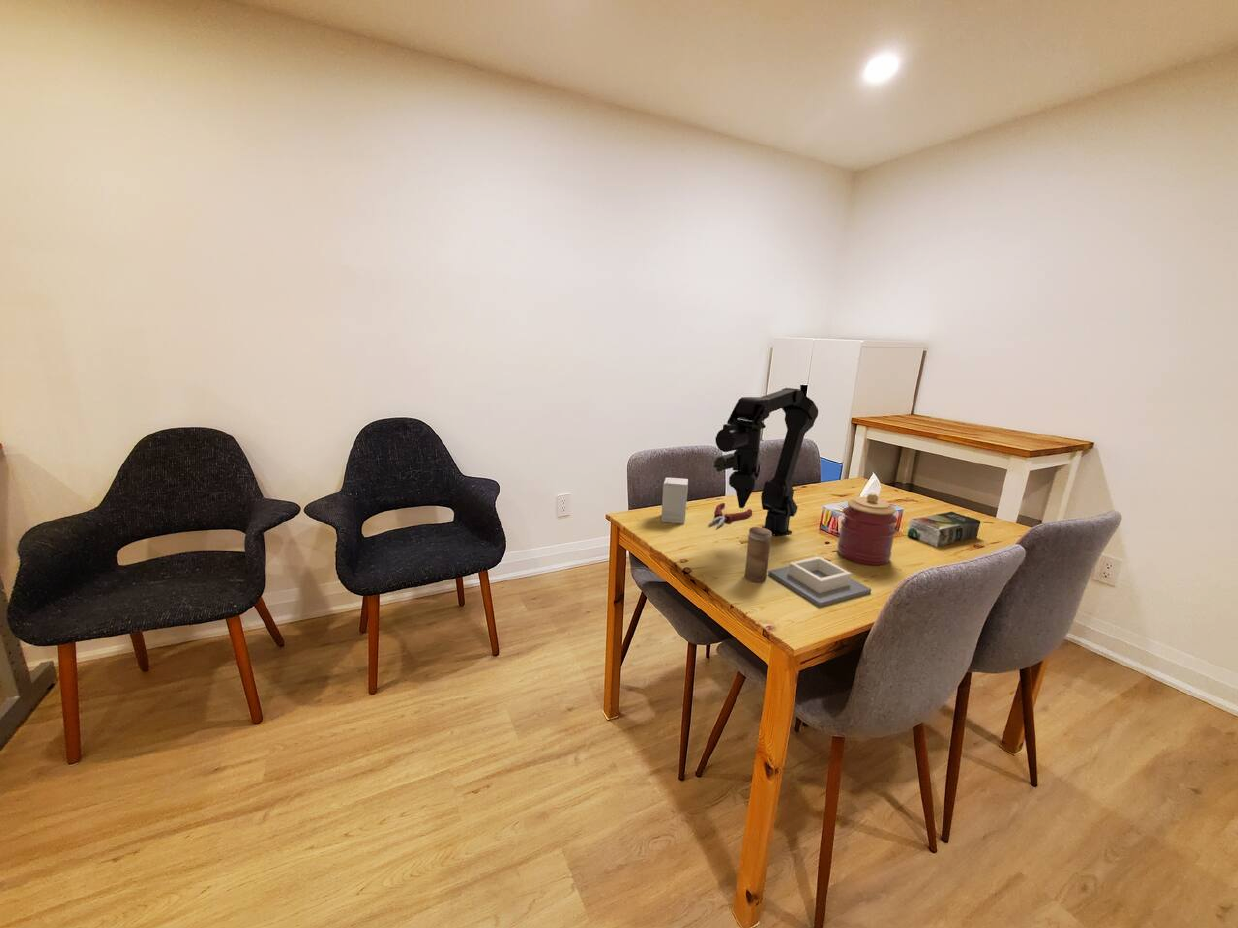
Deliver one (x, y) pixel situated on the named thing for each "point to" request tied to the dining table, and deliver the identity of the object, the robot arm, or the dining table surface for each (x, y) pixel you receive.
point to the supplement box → (674, 500)
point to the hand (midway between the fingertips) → (743, 502)
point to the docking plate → (819, 581)
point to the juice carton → (943, 528)
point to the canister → (867, 530)
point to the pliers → (728, 516)
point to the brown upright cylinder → (757, 554)
